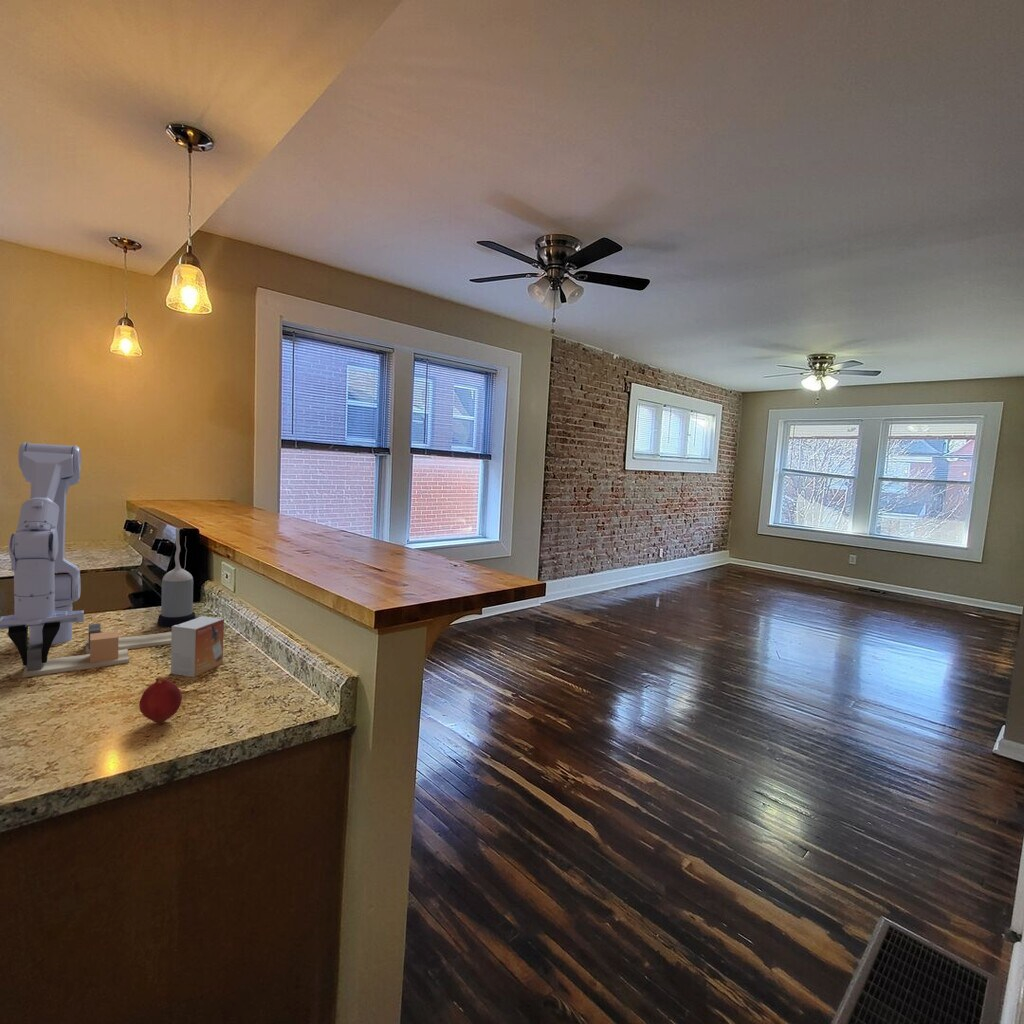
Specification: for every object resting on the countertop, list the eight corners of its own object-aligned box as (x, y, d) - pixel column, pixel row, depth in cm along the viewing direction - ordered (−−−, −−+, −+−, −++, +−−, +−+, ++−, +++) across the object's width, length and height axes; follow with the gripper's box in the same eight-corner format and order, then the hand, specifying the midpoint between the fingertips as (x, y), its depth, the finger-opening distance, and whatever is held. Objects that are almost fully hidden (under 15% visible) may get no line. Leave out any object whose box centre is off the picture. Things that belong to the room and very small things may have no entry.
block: (90, 655, 109) (90, 633, 109) (117, 651, 112) (117, 630, 112) (90, 662, 106) (90, 640, 105) (118, 658, 108) (118, 637, 108)
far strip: (85, 645, 116) (85, 623, 116) (172, 635, 126) (172, 615, 126) (85, 654, 111) (85, 632, 111) (175, 643, 121) (175, 622, 121)
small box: (194, 681, 104) (195, 629, 103) (169, 677, 105) (170, 625, 104) (223, 667, 112) (225, 618, 111) (200, 663, 113) (201, 615, 112)
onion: (152, 714, 91) (153, 668, 90) (188, 714, 91) (188, 669, 91) (131, 731, 85) (131, 682, 84) (169, 731, 86) (170, 683, 85)
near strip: (26, 665, 104) (26, 641, 104) (127, 652, 114) (127, 630, 113) (23, 677, 99) (22, 652, 99) (129, 662, 109) (129, 639, 108)
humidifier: (156, 623, 136) (157, 526, 134) (193, 619, 141) (195, 526, 139) (158, 632, 130) (160, 531, 127) (197, 628, 135) (199, 530, 132)
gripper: (-23, 602, 93) (-22, 677, 95) (83, 594, 102) (83, 662, 104) (-17, 592, 99) (-16, 663, 100) (83, 586, 108) (83, 651, 109)
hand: (35, 662), depth 102 cm, fingers closed on near strip, 2 cm apart
